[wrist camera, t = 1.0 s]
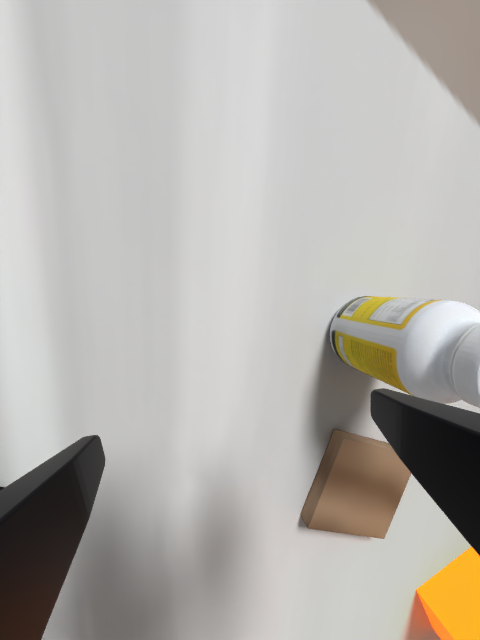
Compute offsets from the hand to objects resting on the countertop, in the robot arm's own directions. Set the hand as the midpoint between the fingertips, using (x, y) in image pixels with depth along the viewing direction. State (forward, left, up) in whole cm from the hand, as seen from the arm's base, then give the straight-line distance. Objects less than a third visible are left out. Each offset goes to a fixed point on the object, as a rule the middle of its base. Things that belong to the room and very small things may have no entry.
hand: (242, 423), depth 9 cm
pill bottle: (+5, -13, -13) cm, 19 cm away
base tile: (-9, -19, -13) cm, 25 cm away
